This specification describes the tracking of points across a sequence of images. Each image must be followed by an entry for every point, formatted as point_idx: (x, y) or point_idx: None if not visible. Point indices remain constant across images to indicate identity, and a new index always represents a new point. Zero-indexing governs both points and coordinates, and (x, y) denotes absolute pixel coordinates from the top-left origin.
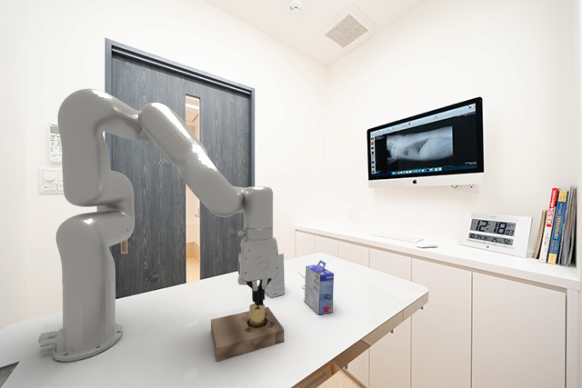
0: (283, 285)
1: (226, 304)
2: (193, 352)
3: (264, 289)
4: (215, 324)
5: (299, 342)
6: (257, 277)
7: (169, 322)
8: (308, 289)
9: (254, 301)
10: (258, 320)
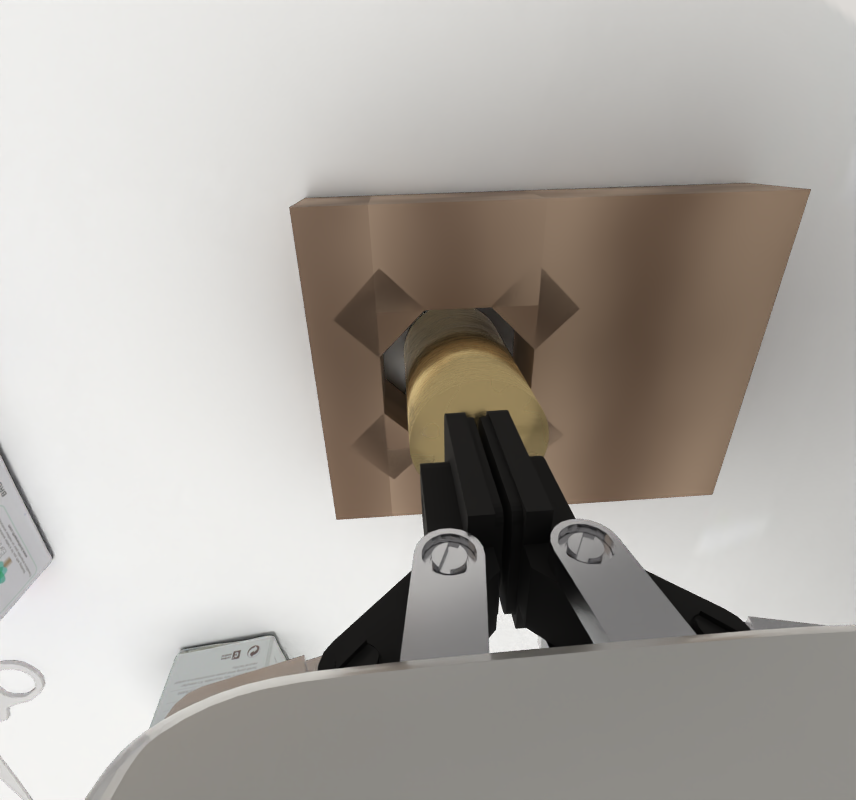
0: (165, 706)
1: (531, 632)
2: (812, 315)
3: (434, 540)
4: (710, 440)
5: (194, 140)
6: (732, 695)
7: (812, 568)
8: None
9: (533, 456)
10: (475, 344)
